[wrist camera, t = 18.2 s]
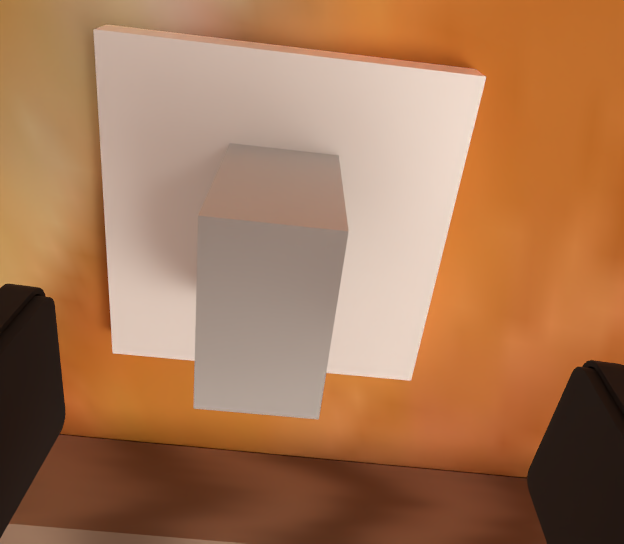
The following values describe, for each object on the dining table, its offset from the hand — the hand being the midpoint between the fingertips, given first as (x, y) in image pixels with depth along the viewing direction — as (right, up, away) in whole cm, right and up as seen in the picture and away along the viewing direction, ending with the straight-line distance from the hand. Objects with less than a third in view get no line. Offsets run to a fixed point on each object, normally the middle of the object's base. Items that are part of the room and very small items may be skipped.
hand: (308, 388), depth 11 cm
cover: (-1, +4, +8) cm, 9 cm away
